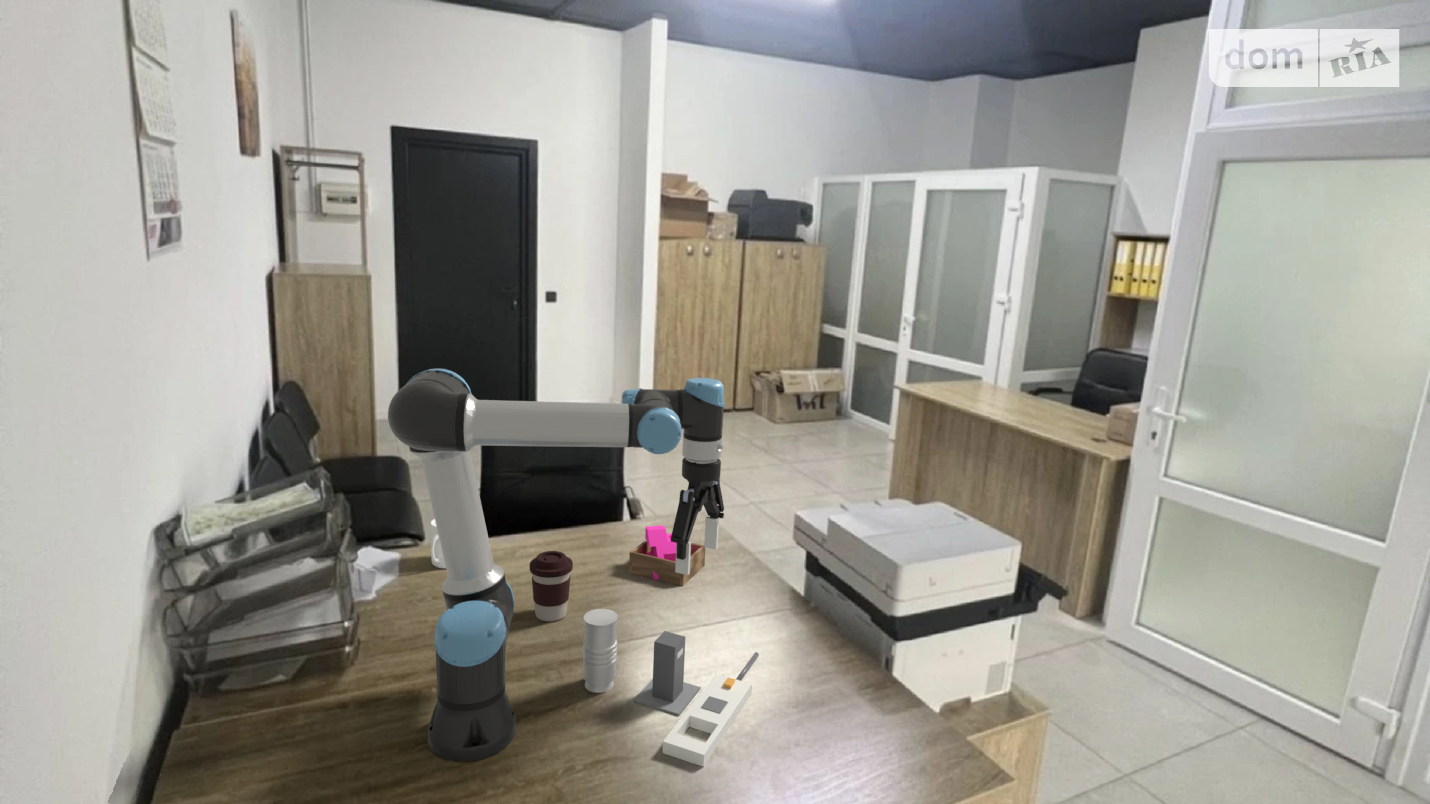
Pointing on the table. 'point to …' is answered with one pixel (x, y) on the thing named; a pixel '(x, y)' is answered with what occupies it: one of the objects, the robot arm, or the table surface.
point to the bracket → (660, 544)
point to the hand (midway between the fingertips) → (697, 560)
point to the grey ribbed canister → (600, 650)
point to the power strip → (709, 717)
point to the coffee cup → (551, 584)
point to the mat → (674, 708)
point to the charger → (668, 666)
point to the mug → (436, 547)
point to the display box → (664, 564)
